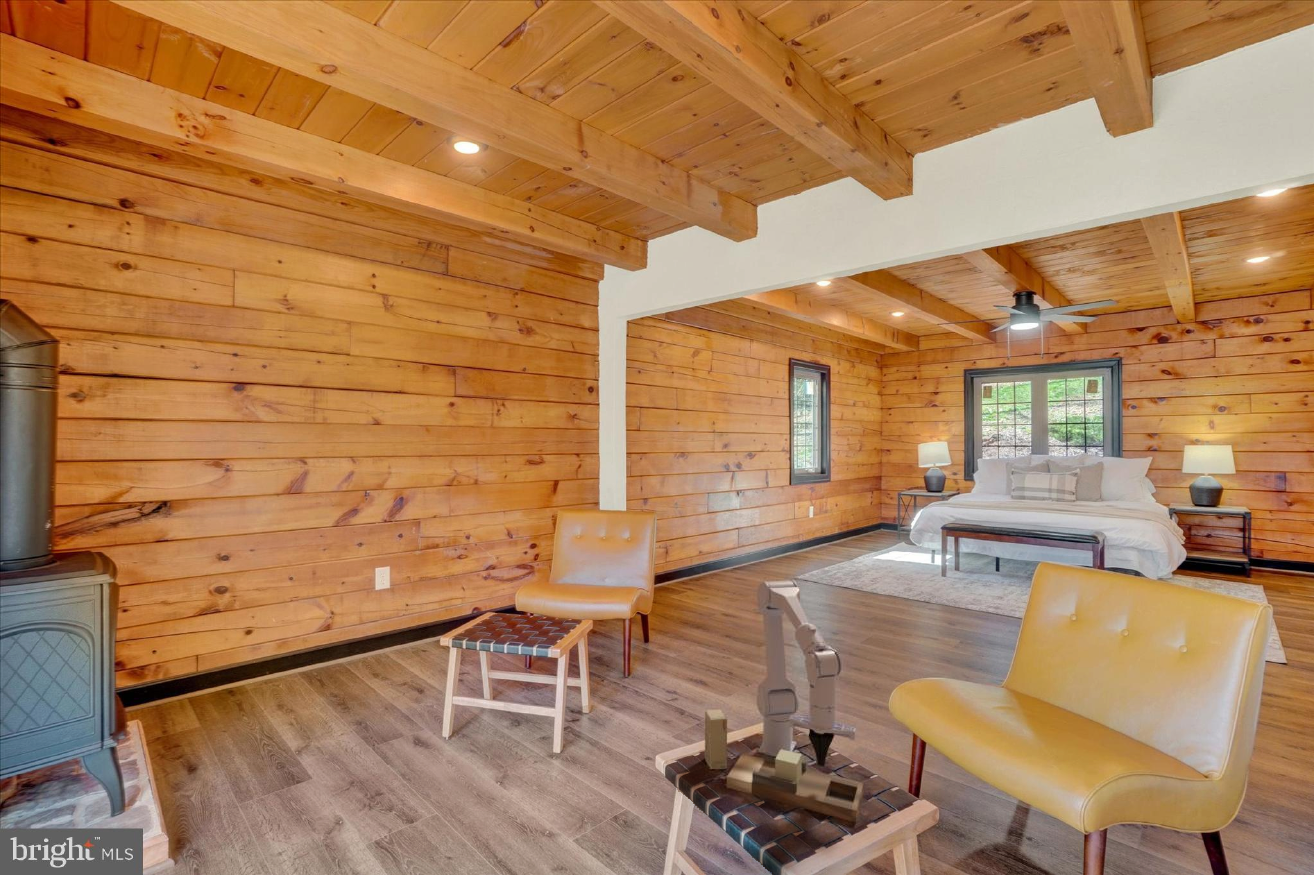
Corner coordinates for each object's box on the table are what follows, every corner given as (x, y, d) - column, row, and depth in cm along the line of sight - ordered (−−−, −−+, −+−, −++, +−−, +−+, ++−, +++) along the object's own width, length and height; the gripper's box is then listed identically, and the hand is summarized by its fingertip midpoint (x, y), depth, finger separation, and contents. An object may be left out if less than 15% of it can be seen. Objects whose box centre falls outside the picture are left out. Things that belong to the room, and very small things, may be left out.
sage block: (780, 770, 145) (780, 749, 145) (801, 775, 143) (801, 754, 143) (774, 780, 141) (775, 758, 141) (796, 786, 139) (797, 764, 139)
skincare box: (727, 769, 150) (728, 719, 150) (710, 770, 149) (711, 720, 149) (720, 756, 156) (721, 708, 156) (704, 757, 156) (704, 709, 156)
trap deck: (742, 763, 153) (742, 745, 153) (863, 793, 140) (863, 774, 141) (726, 787, 142) (726, 767, 142) (856, 822, 130) (856, 801, 130)
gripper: (786, 703, 138) (785, 764, 138) (853, 717, 132) (852, 780, 132) (793, 692, 145) (792, 750, 145) (857, 704, 139) (856, 765, 138)
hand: (821, 763), depth 139 cm, fingers closed
